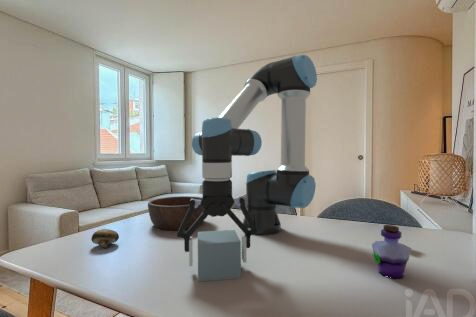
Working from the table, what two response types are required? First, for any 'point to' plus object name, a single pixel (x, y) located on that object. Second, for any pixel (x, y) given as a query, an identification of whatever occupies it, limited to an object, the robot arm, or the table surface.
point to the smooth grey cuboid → (219, 255)
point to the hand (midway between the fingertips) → (217, 262)
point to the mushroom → (104, 237)
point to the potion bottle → (391, 253)
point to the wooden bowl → (172, 212)
